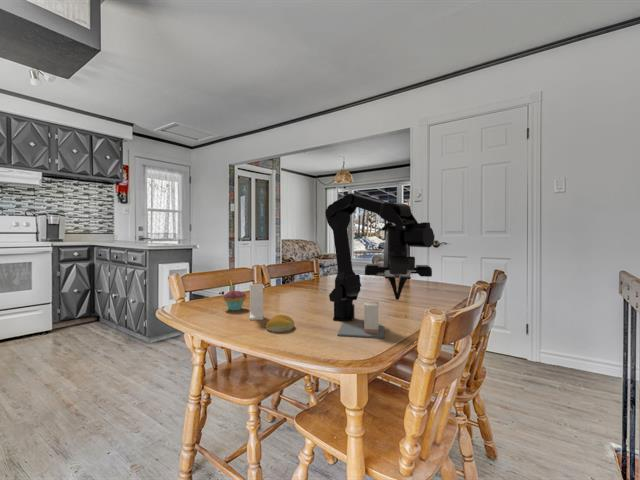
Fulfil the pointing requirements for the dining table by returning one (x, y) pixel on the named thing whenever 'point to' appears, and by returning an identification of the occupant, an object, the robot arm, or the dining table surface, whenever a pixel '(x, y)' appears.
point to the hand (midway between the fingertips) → (397, 299)
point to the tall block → (371, 317)
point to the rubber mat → (359, 331)
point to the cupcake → (234, 299)
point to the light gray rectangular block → (256, 302)
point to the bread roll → (280, 324)
